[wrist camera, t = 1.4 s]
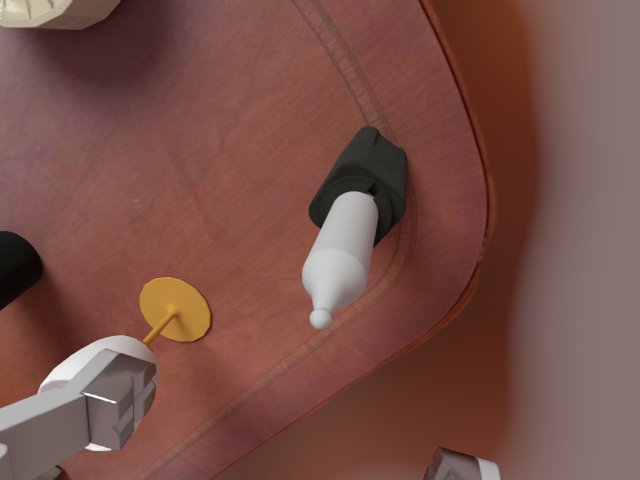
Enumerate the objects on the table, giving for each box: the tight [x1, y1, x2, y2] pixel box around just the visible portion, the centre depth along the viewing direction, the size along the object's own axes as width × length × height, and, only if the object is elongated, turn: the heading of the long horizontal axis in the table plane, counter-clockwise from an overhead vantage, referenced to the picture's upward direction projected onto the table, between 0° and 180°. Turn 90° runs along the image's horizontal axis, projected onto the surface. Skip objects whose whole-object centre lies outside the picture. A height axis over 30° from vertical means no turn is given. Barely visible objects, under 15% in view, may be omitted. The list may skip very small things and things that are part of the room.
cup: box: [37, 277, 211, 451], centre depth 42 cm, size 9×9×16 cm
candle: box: [302, 127, 406, 330], centre depth 27 cm, size 5×5×25 cm
